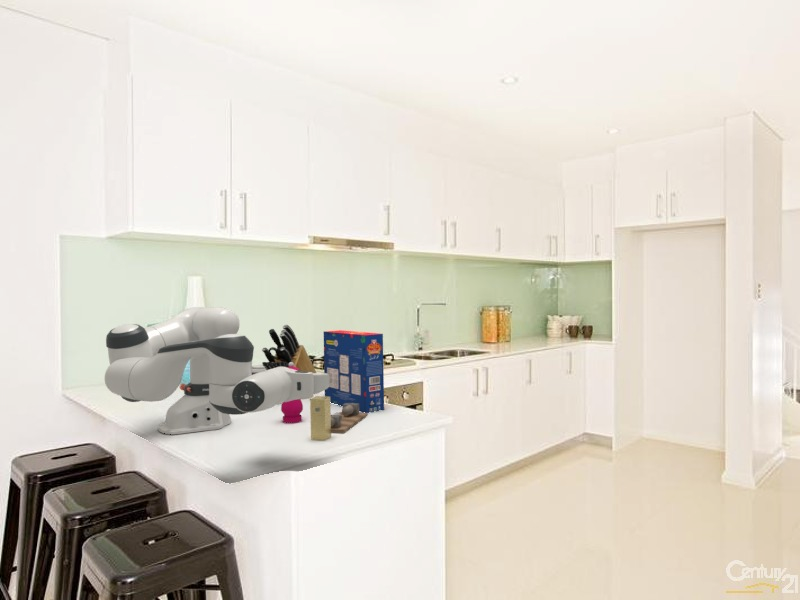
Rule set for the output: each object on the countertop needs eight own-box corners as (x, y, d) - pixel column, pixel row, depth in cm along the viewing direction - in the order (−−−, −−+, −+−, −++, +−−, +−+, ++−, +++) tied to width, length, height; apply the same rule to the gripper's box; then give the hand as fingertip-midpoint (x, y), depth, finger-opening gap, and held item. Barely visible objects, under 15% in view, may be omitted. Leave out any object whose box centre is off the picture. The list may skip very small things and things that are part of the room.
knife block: (260, 405, 210) (258, 325, 209) (298, 389, 244) (297, 320, 243) (287, 406, 207) (285, 325, 207) (322, 389, 241) (320, 320, 241)
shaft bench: (343, 433, 166) (343, 418, 166) (313, 431, 168) (313, 417, 168) (367, 415, 189) (367, 402, 189) (340, 414, 191) (340, 401, 191)
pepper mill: (293, 417, 188) (292, 360, 188) (307, 420, 183) (306, 361, 183) (276, 421, 182) (275, 362, 182) (290, 424, 178) (289, 364, 177)
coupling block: (324, 440, 158) (324, 399, 158) (310, 439, 159) (309, 399, 159) (331, 436, 163) (330, 396, 163) (317, 435, 164) (316, 395, 164)
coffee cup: (268, 395, 230) (267, 367, 230) (246, 395, 230) (246, 367, 230) (273, 391, 239) (273, 364, 239) (253, 391, 240) (252, 364, 239)
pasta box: (384, 410, 198) (382, 333, 197) (366, 413, 193) (365, 335, 192) (341, 399, 219) (340, 330, 219) (324, 401, 214) (323, 331, 214)
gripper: (242, 396, 138) (268, 386, 151) (317, 398, 133) (337, 389, 146) (241, 371, 138) (268, 364, 151) (316, 373, 133) (336, 365, 146)
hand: (302, 376), depth 149 cm, fingers open, 8 cm apart
